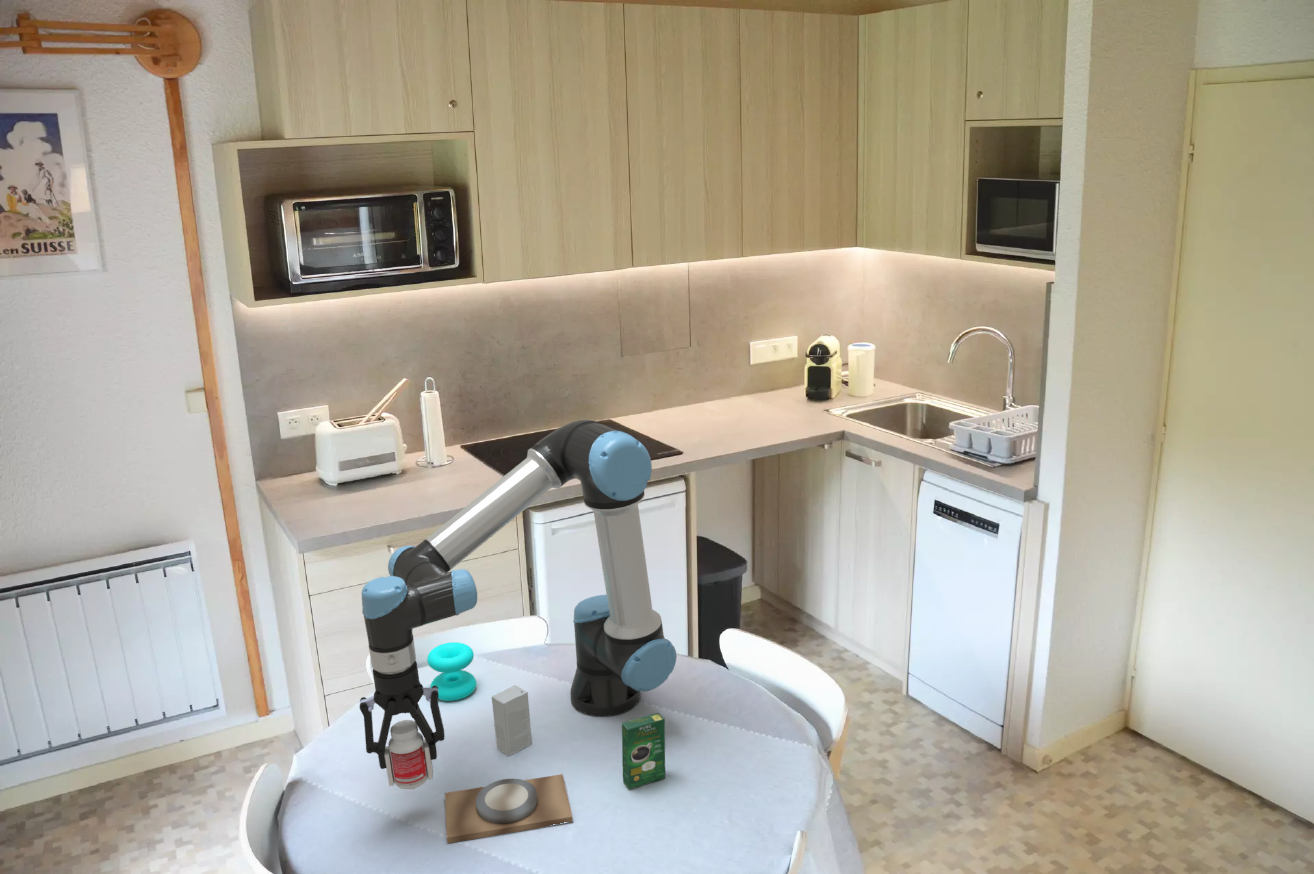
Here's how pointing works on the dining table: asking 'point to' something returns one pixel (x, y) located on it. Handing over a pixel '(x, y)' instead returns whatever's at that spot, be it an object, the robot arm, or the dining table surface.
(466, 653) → the donuts
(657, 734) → the coffee box
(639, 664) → the robot arm
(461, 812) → the seat board
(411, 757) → the pill bottle
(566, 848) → the dining table surface
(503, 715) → the skincare box
